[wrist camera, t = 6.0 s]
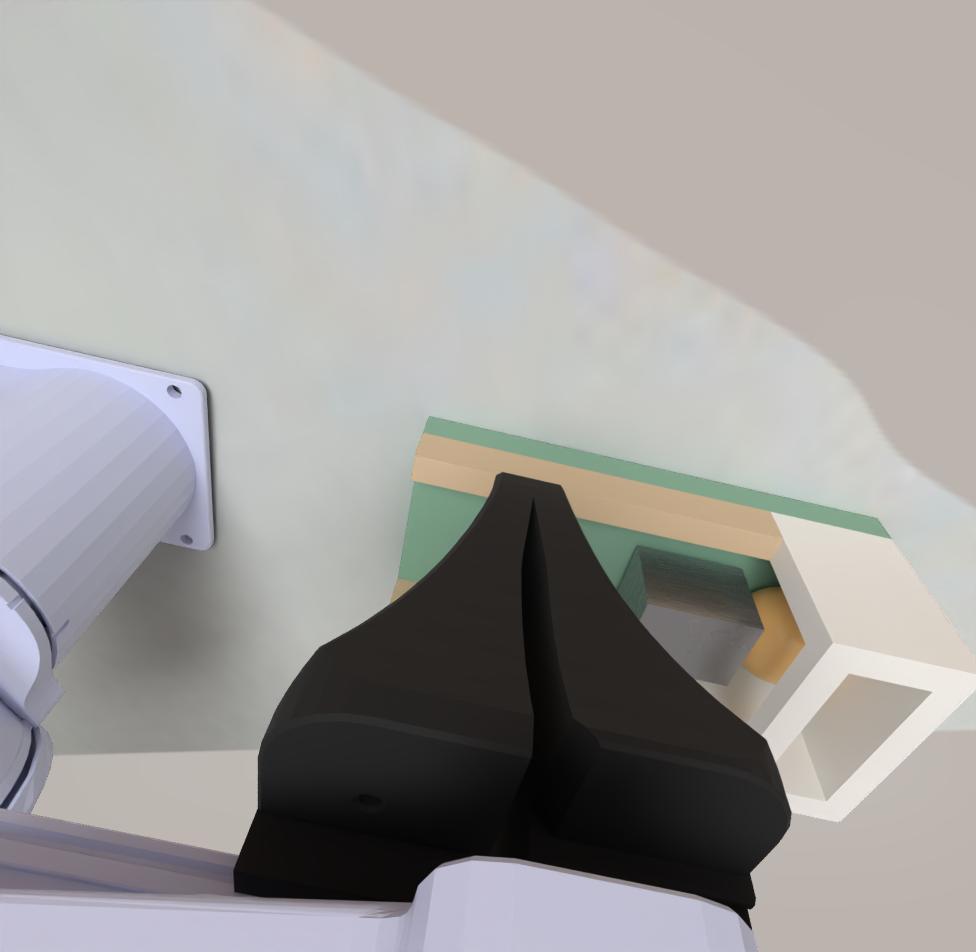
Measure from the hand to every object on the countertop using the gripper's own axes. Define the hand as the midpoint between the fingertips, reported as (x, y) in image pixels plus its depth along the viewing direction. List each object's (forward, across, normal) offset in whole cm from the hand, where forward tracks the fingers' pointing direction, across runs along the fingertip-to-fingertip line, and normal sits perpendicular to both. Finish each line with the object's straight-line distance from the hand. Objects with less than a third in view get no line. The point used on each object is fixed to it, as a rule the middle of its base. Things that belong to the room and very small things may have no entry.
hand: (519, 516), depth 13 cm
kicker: (+8, -8, +7) cm, 13 cm away
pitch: (+9, -6, +8) cm, 13 cm away
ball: (+6, -11, +8) cm, 15 cm away
